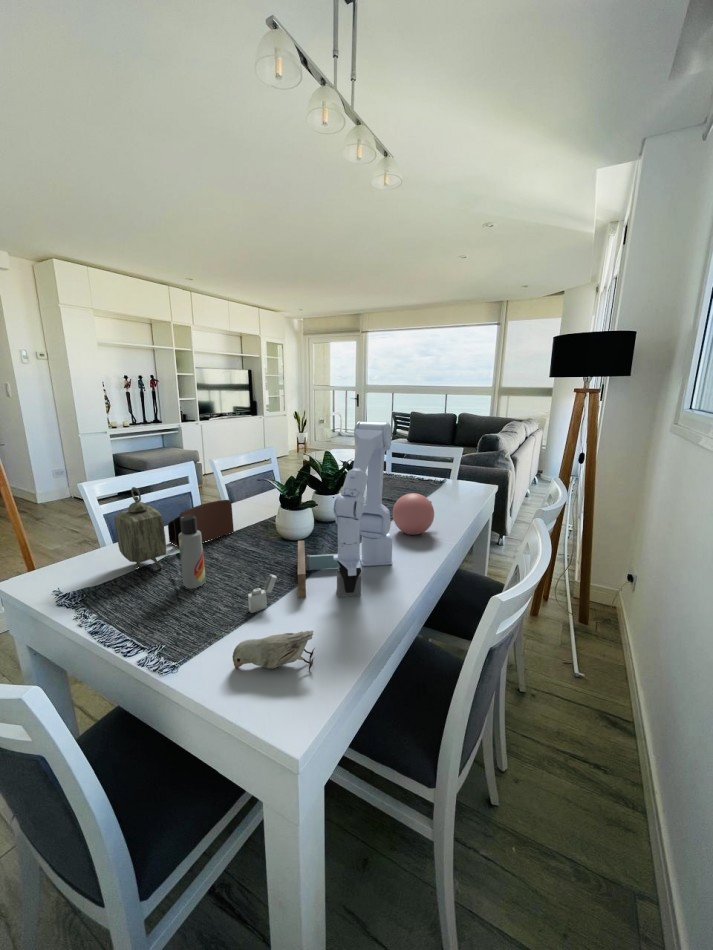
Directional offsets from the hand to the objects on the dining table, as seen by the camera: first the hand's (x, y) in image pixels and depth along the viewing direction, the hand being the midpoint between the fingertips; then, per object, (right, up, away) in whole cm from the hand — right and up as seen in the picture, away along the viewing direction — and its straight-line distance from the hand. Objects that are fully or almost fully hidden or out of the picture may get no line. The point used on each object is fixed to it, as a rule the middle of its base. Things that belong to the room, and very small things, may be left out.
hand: (348, 587), depth 102 cm
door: (-8, +2, +13) cm, 16 cm away
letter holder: (-54, +7, +36) cm, 65 cm away
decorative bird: (-14, -8, -27) cm, 31 cm away
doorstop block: (0, -1, 0) cm, 1 cm away
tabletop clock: (-63, +2, +14) cm, 64 cm away
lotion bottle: (-43, 0, +4) cm, 43 cm away
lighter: (-21, -3, -7) cm, 22 cm away
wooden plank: (-14, +1, +8) cm, 16 cm away
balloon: (+25, +8, +43) cm, 51 cm away
